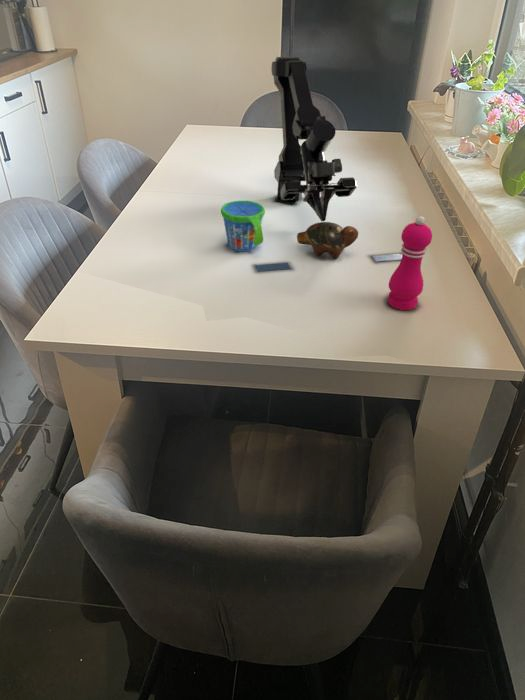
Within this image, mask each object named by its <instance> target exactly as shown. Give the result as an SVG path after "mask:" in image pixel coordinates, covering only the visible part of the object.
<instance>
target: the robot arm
mask: <svg viewBox="0 0 525 700" xmlns="http://www.w3.org/2000/svg"><path fill="white" fill-rule="evenodd" d="M270 70H271V75H272V76H273V84H274V85H275V87H276V89H277V90H278V92H279V94H280V107H281V108H280V109H281V126H282V141H283V142H282V144H283V147H282V149H281V150H280V153H279V155H278V161H277V163H276V165H275V168H274V171H273V174H274V176H273V177H274V180H276V182H277V195H276V198H275V199H274V201H275V202H279V203H284V204H290V205H296V204H297V203H298V202H300V200H301V199H302V198H303V199H302V201H303V203H307V204H308V205H309V206H310V207H311V209H312V210H313V211H314V213H315V214H316V215H317V217H318V219H319V220H320V222H326V219H327V213H328V207H329V204H330V200H332V198H333V196H336V197H338V198H345V197H350V196H352V194H353V193H354V191H355V190H356V189H357V188H358V183H357V180H356V179H355V178H354V177H340V178H339V179H338V181H336V182H334V183H333V182H332V183H330V182H331V181H333V177H336V175H337V174H339V173H342V172H343V162H342V158H334V159H332V160H331V161H328V160H326V157H325V152H326V151H327V150H328V148H329V147H330V145H331V143H332V141H333V140H334V138H335V136H336V134H337V133H336V127H335V126H334V124H333V123H332V122H331V121H329V120H327V119H326V116H325V115H322V114H321V111H320V109H318V108H317V107H316V106H315V105H314V102H313V99H312V93H311V89H310V84H309V79H308V76H307V62H306V61H303V60H302V59H300V57H298V56H276V58H275V61H272V62H271V69H270ZM300 140H304V141H303V142H302V143H300ZM300 144H301V145H300ZM302 182H305V184H302ZM303 196H304V197H303Z"/></svg>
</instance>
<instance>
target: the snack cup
mask: <svg viewBox="0 0 525 700" xmlns="http://www.w3.org/2000/svg"><path fill="white" fill-rule="evenodd" d="M265 213H266V210H265V207H264V206H263V205H262V204H260V203H258V202H255V201H250V200H233V201H230V202H227V203H224V204H223V205H222V206H221V208H220V214H221V216H222V219H223V223H224V224H223V225H224V231H225V235H226V241H227V245H228V247H229V248H230V249H232V250H234V251H236V252H249V251H252V250H254V249H256V247H257V246H259V245H261V244H262V243H263V242H264V234H263V229H262V228H263V227H262V222H263V218H264V216H265Z"/></svg>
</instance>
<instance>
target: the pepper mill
mask: <svg viewBox="0 0 525 700" xmlns="http://www.w3.org/2000/svg"><path fill="white" fill-rule="evenodd" d="M425 222H426V220H425V217H423V216H421V215H420V216H417V217H416V218H415V222H411V223H408V224H406V225H405V227H404V228H403V230H402V232H401V235H400V237H401V238H400V239H401V241H402V245H401V249H400V252H401V254H402V259H401V260H400V262H399V264H398V266H397V268H396V269H395V270H394V272H393V273H392V274H391V276H390V279H389V281H388V289H389V291H390V292H388V298H387V302H388V304H389V306H391V307H392V308H394V309H397V310H401V311H410V310H411V311H412V310H414V309H415V308H416V307H417V305H418V302H419V301H418V300H419V297H418V296H420V295H421V294H422V293H423V291H424V278H423V274H422V261H423V257H425V256H426V255H427V250H428V249H427V247H428V246H429V245H430V244H431V243H432V240H433V231H432V229H431V227H430V226H428V225H427V224H426V223H425Z"/></svg>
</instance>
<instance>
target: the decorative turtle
mask: <svg viewBox="0 0 525 700" xmlns="http://www.w3.org/2000/svg"><path fill="white" fill-rule="evenodd" d="M358 238H359V231H358V229H357V228H356V227H354V226H352V225H347V226H346V225H345V227H342V226H341V225H339V224H337V223H335V222H331V221H320V222H316V223H312V225H310V226H308V227H307V228H306V230H305V231H300V232H298V233H297V235H296V240H297V244H299V245H304V246H305V245H307V246H311V247H312V249H313V252H314V255H315V256H316V257H321V256H323V255H324V254H326V253H328V254H329V255H330V257H331V258H332V259H333V260H337V259H339V258H340V256H341V254H342V252H343V251H344V250H345V249H346V248H348V247H350V246H351V245H352V244H354V243H355V241H356V240H357V239H358Z"/></svg>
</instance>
